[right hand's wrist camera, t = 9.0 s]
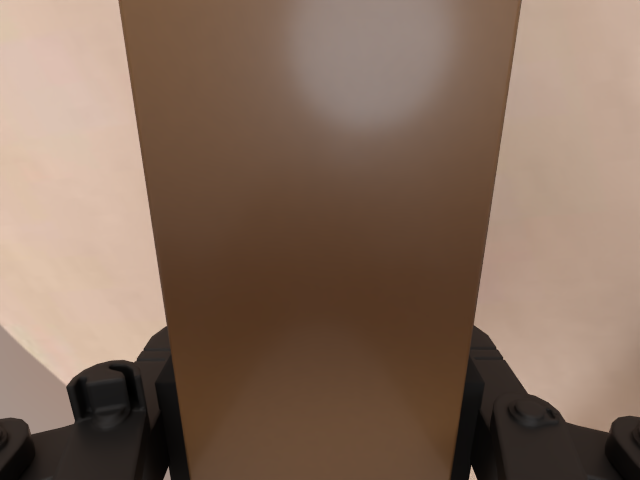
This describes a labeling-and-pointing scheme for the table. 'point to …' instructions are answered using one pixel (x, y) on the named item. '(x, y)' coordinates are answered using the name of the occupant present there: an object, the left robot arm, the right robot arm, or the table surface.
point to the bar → (320, 222)
